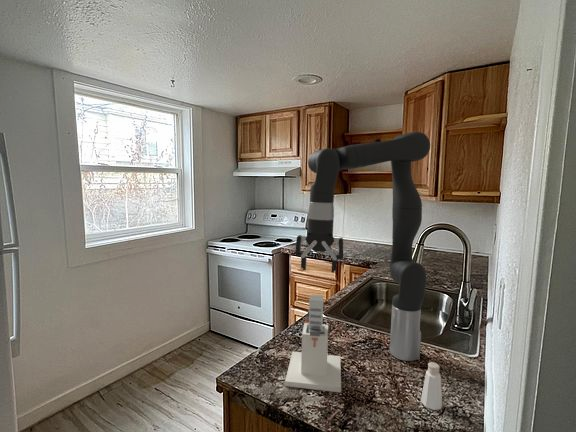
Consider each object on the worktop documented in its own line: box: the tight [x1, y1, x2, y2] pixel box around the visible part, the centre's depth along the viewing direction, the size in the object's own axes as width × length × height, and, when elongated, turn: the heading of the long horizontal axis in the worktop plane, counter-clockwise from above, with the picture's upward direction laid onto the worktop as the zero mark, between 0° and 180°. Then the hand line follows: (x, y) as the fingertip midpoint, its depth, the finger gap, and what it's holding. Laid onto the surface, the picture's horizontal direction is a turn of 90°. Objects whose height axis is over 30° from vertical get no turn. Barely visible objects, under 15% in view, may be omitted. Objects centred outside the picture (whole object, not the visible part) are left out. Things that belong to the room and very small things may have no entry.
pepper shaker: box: [420, 361, 443, 411], centre depth 81 cm, size 5×5×11 cm
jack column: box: [308, 294, 324, 334], centre depth 93 cm, size 4×4×22 cm
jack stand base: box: [284, 322, 342, 393], centre depth 94 cm, size 16×16×15 cm
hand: (318, 270), depth 92 cm, fingers open, 8 cm apart
